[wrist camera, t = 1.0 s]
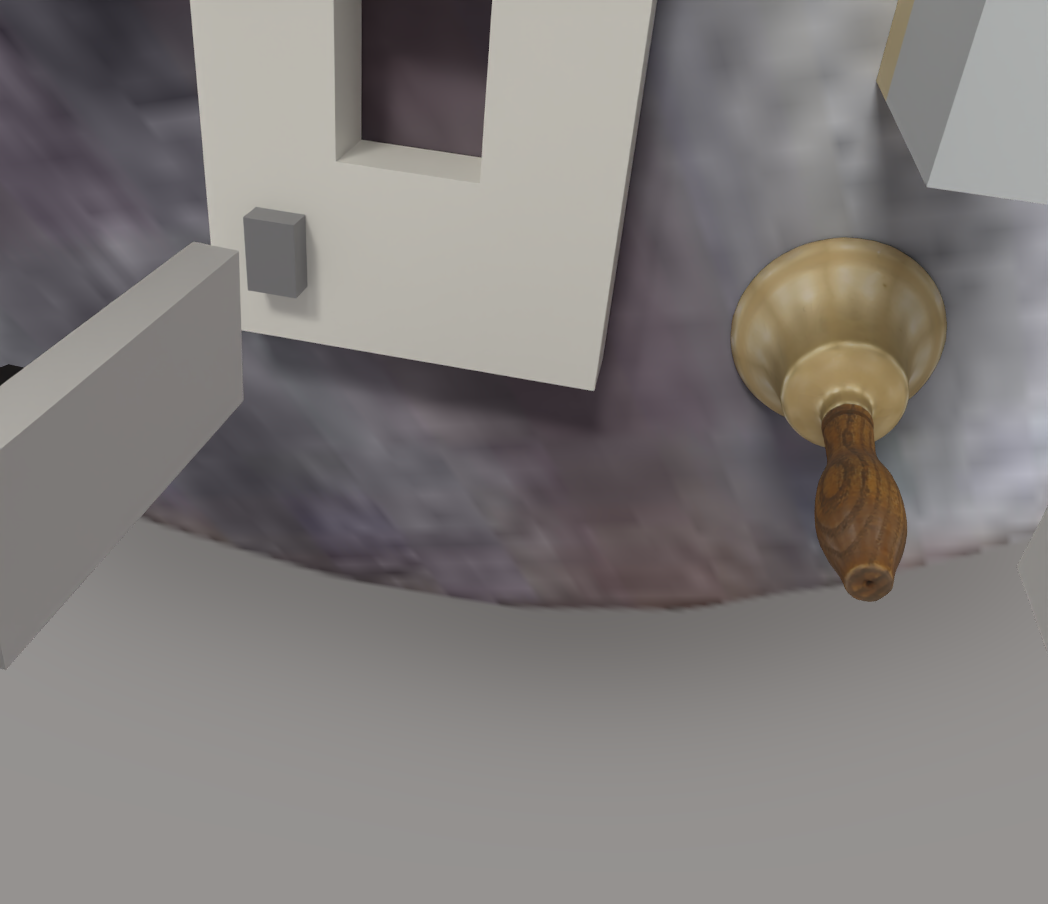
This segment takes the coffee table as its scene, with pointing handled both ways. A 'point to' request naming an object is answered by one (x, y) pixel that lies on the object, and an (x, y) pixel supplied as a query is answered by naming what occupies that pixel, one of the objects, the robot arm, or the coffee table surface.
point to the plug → (972, 93)
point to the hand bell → (844, 382)
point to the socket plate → (425, 186)
